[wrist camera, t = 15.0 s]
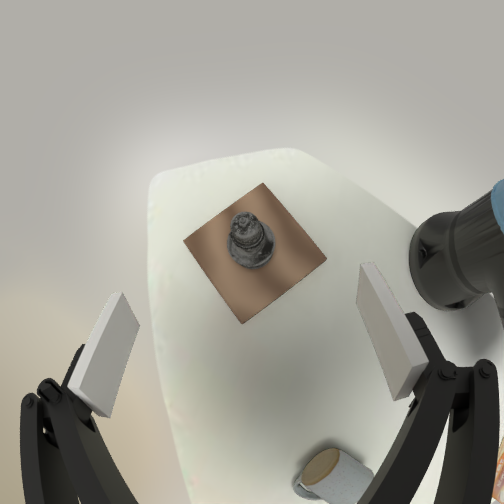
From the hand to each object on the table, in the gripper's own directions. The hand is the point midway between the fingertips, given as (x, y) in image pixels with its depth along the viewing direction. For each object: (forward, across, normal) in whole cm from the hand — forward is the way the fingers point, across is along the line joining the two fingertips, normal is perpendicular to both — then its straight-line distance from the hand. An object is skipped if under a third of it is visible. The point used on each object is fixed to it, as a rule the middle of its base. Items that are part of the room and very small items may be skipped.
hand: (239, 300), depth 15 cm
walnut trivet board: (+22, 0, -10) cm, 24 cm away
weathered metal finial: (+21, 0, -10) cm, 23 cm away
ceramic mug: (-3, +7, -35) cm, 36 cm away
